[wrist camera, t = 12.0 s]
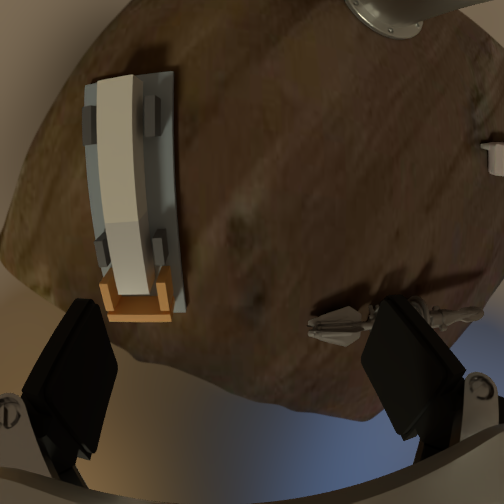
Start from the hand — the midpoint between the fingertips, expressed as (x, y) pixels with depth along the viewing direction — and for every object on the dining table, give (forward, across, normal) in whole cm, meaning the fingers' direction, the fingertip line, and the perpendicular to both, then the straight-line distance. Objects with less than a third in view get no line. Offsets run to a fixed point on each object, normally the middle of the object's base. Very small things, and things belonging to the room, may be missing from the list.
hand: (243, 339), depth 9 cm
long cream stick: (+22, +10, -1) cm, 25 cm away
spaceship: (+24, -28, +18) cm, 41 cm away
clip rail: (+23, +10, +2) cm, 26 cm away
